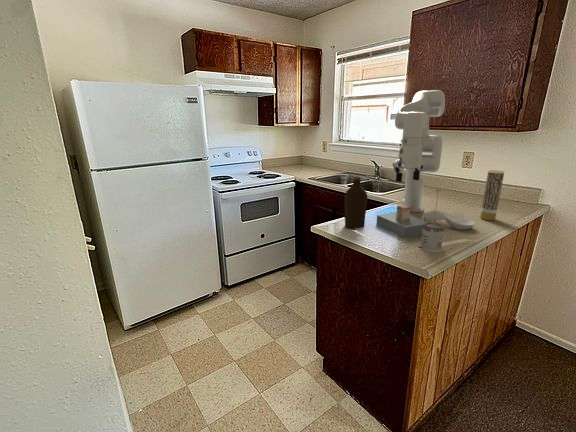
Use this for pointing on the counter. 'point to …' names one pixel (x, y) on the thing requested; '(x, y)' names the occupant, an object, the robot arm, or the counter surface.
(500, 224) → the counter surface
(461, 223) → the spoon rest
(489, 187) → the paper tube
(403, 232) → the socket block
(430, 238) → the french press
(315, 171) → the counter surface
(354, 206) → the olive oil
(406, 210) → the plug
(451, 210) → the counter surface
